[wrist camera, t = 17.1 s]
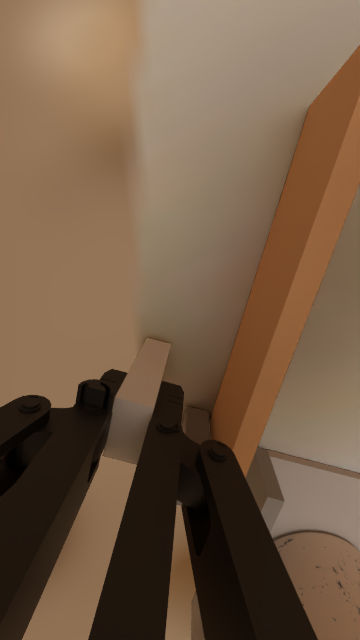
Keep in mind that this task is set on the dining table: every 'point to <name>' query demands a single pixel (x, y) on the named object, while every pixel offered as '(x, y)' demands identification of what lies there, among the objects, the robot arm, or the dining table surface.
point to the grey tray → (290, 495)
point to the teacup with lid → (325, 582)
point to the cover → (292, 262)
